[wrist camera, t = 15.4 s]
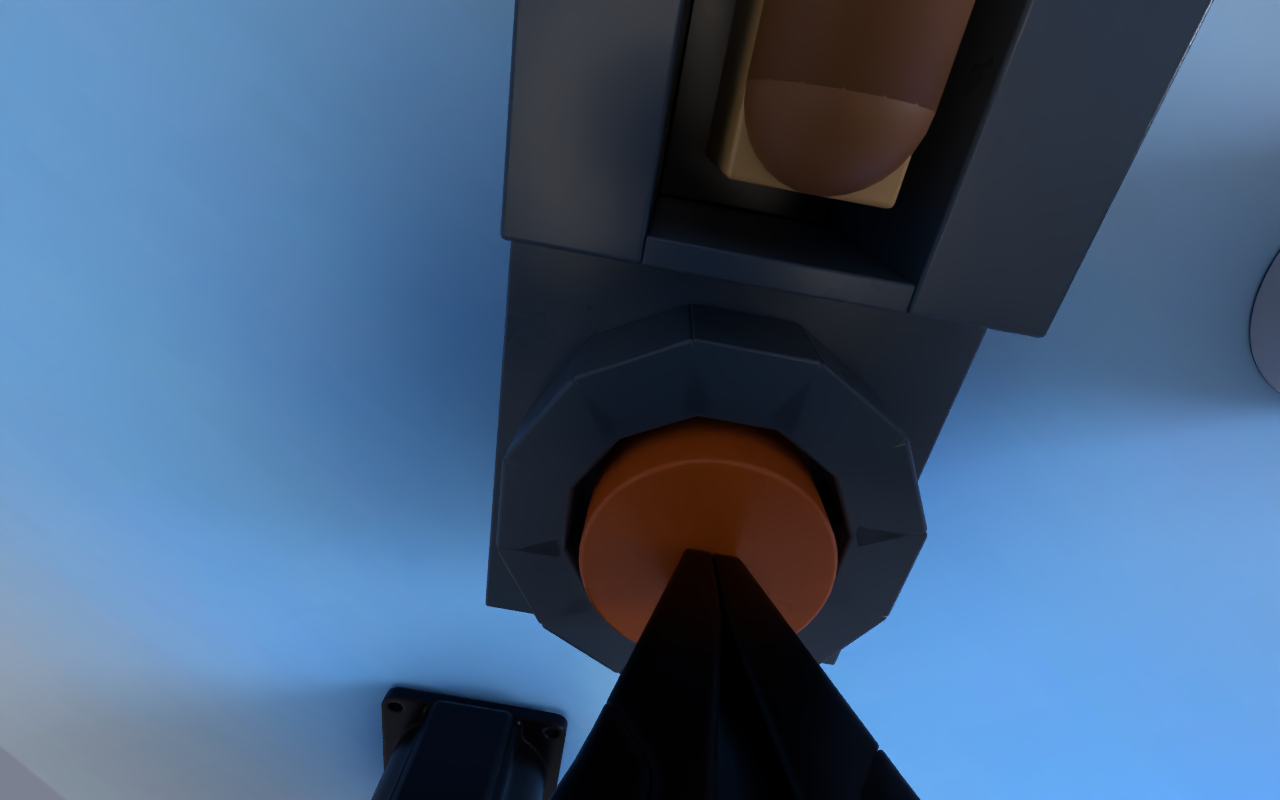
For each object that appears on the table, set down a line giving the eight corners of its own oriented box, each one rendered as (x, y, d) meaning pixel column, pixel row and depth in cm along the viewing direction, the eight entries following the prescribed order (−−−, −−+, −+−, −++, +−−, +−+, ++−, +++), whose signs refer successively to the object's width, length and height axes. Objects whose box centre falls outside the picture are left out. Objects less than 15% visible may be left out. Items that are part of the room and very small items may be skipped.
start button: (779, 604, 11) (796, 680, 10) (579, 569, 11) (564, 641, 10) (844, 428, 10) (878, 487, 8) (609, 386, 10) (596, 437, 8)
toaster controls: (799, 544, 17) (857, 743, 11) (528, 497, 17) (456, 675, 11) (904, 259, 13) (1063, 351, 8) (559, 195, 13) (475, 244, 8)
